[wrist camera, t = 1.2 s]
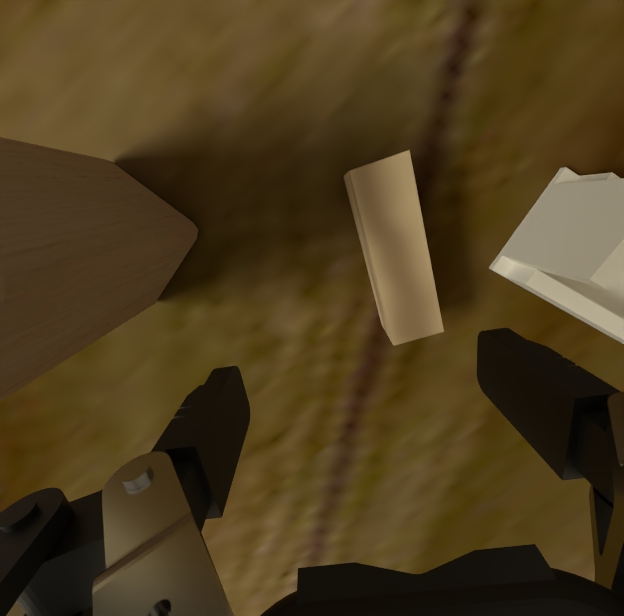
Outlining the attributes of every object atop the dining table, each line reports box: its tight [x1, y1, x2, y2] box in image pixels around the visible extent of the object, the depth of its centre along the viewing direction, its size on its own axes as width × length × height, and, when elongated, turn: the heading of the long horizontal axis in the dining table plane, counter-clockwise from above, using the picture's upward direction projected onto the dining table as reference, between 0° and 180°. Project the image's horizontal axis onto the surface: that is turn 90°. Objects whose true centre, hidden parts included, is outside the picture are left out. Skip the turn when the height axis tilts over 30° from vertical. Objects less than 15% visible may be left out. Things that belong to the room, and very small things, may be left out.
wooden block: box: [0, 137, 198, 401], centre depth 19 cm, size 10×10×20 cm
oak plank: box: [343, 150, 444, 345], centre depth 26 cm, size 4×15×5 cm, turn 18°
